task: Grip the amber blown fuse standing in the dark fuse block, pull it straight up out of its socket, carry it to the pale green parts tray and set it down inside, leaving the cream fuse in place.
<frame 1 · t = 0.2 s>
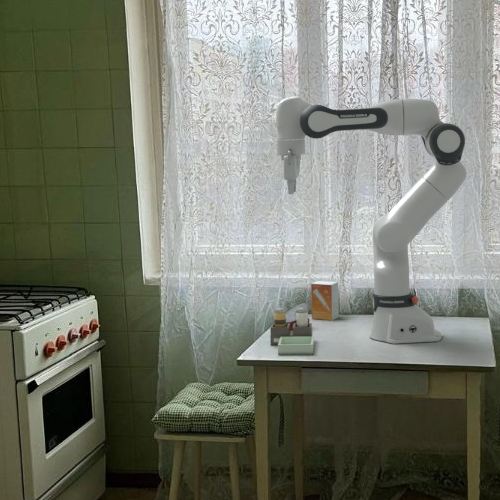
hand: (292, 193, 264), 47 cm above the table, tool pointing down, fingers open, 8 cm apart
small box: (325, 318, 299), on the table
parts tray: (296, 350, 255), on the table
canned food: (295, 328, 285), on the table
blown fuse: (280, 333, 265), point 3 cm above the table, touching fuse block
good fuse: (302, 333, 264), point 3 cm above the table, touching fuse block
fuse block: (291, 342, 265), on the table
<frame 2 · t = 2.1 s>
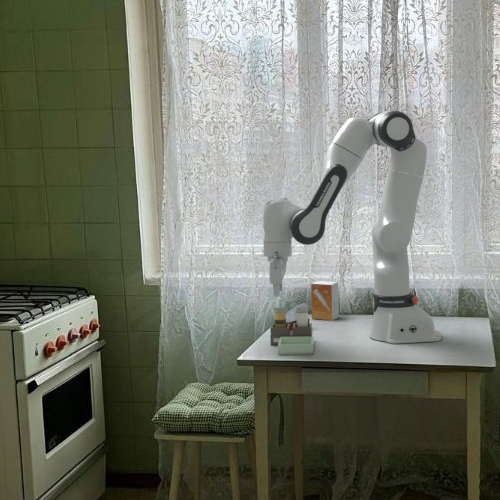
hand: (278, 293, 263), 16 cm above the table, tool pointing down, fingers open, 8 cm apart
nothing on the table moved.
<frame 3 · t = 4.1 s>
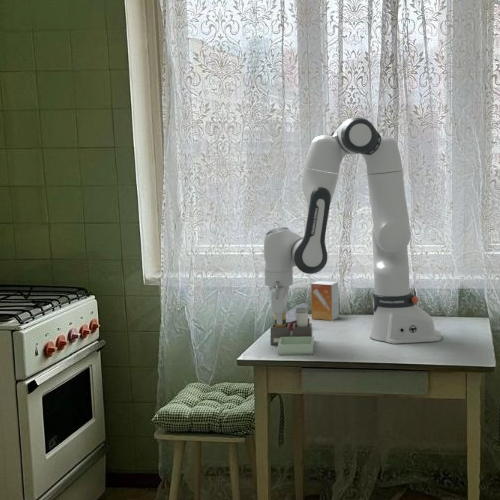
hand: (280, 322, 264), 7 cm above the table, tool pointing down, fingers closed on blown fuse, 4 cm apart
blown fuse: (280, 333, 265), point 3 cm above the table, touching fuse block, gripper
everything else where it was.
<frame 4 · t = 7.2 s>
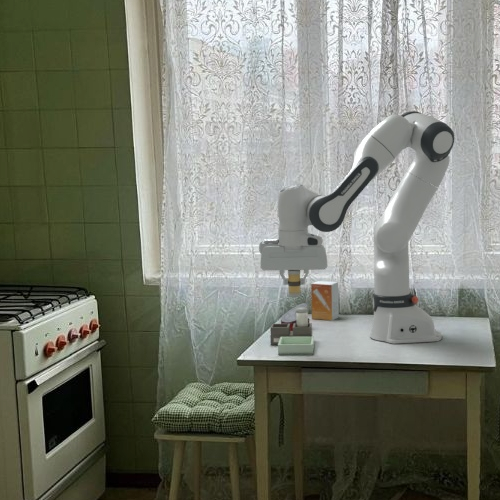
hand: (294, 284, 252), 20 cm above the table, tool pointing down, fingers closed on blown fuse, 4 cm apart
blown fuse: (294, 296, 252), point 17 cm above the table, touching gripper
everything else where it was.
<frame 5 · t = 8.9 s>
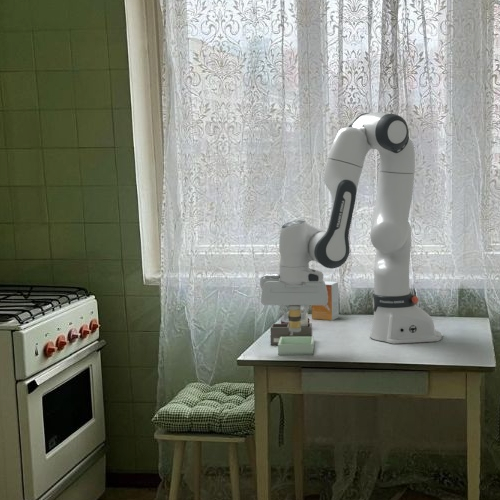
hand: (294, 319, 253), 10 cm above the table, tool pointing down, fingers closed on blown fuse, 4 cm apart
blown fuse: (294, 330, 254), point 6 cm above the table, touching gripper
everything else where it was.
when the fingers open (6 cm above the table, at t = 10.5 s): blown fuse drops 1 cm, resting on parts tray.
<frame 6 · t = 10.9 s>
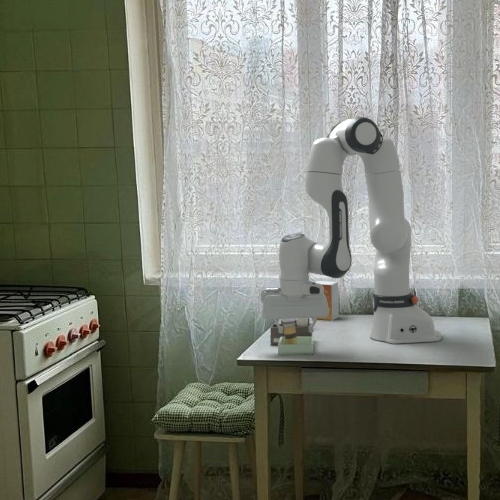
hand: (296, 332, 254), 6 cm above the table, tool pointing down, fingers open, 8 cm apart
blown fuse: (291, 347, 255), point 1 cm above the table, tilted 6°, touching gripper, parts tray
everything else where it was.
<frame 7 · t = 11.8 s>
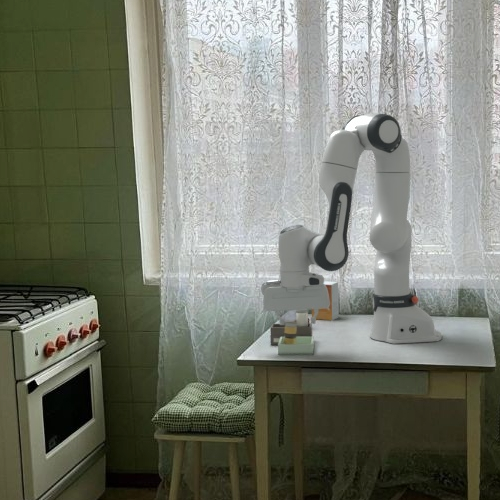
hand: (297, 324, 254), 8 cm above the table, tool pointing down, fingers open, 8 cm apart
blown fuse: (289, 347, 255), point 1 cm above the table, tilted 6°, touching parts tray
everything else where it was.
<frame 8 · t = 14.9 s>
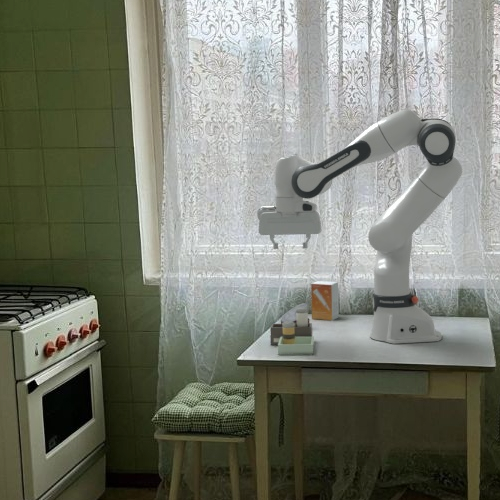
hand: (290, 248, 269), 29 cm above the table, tool pointing down, fingers open, 8 cm apart
nothing on the table moved.
at the end: blown fuse inside the target area on the parts tray (2.1 cm from its centre), point 0.6 cm above the parts tray's base; the gripper is holding nothing; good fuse moved 0.0 cm from its start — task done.
